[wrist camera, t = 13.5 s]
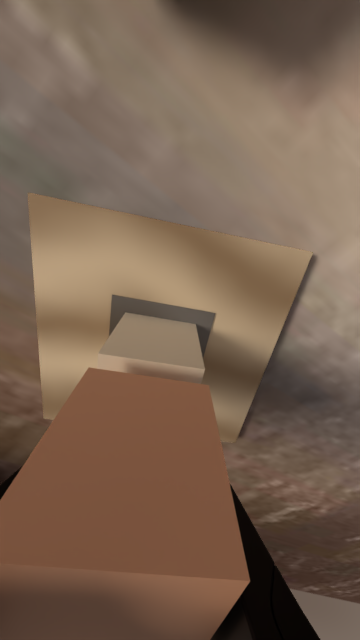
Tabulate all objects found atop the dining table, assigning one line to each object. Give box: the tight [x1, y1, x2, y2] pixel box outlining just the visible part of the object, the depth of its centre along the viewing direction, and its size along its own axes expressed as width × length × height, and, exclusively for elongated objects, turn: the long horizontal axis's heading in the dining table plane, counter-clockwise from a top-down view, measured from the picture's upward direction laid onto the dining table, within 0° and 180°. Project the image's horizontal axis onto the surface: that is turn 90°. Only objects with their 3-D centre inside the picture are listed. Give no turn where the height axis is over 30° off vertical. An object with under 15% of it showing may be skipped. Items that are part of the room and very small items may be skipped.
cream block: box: [97, 312, 205, 384], centre depth 12 cm, size 5×5×5 cm
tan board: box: [28, 193, 313, 443], centre depth 15 cm, size 16×16×1 cm
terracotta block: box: [0, 367, 250, 640], centre depth 7 cm, size 5×5×5 cm
